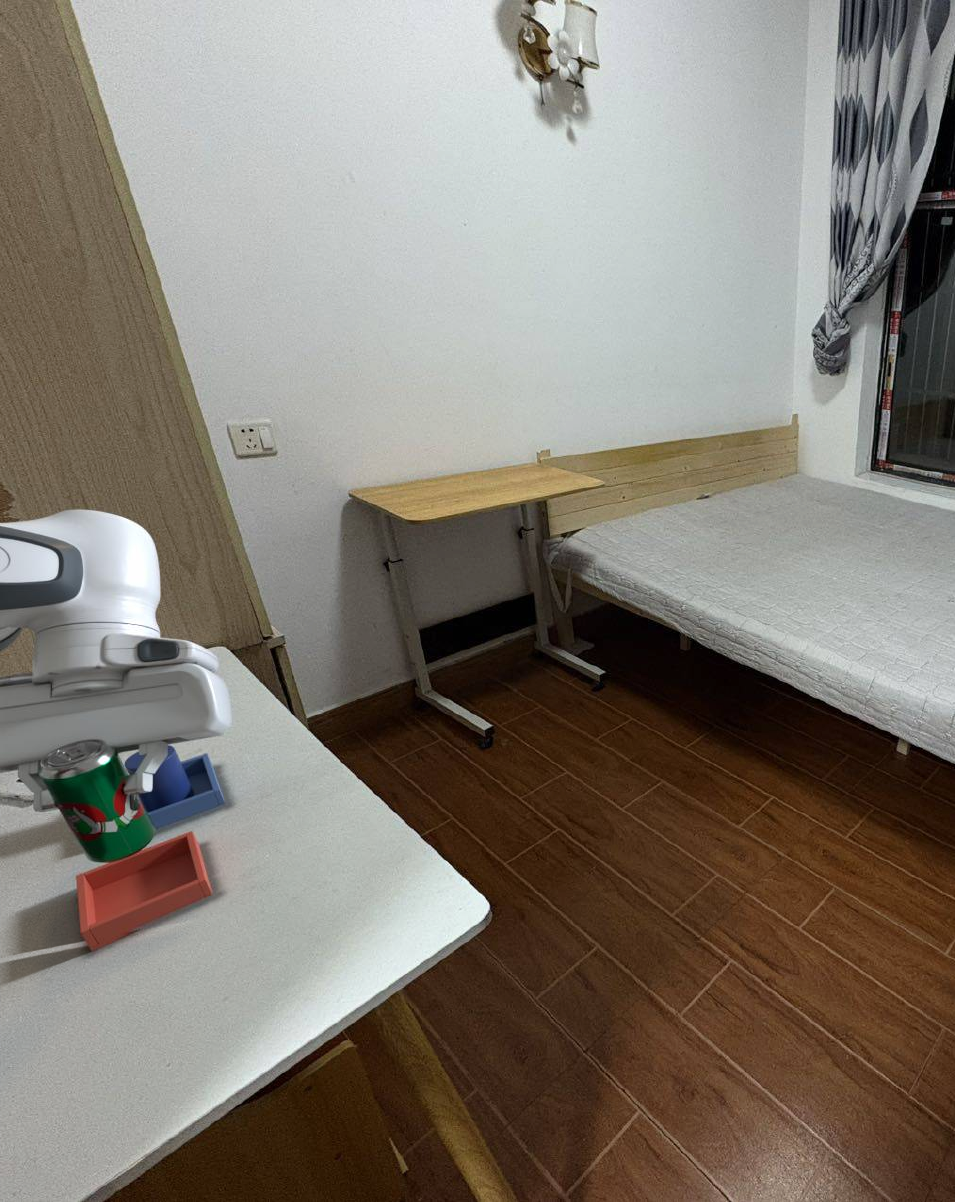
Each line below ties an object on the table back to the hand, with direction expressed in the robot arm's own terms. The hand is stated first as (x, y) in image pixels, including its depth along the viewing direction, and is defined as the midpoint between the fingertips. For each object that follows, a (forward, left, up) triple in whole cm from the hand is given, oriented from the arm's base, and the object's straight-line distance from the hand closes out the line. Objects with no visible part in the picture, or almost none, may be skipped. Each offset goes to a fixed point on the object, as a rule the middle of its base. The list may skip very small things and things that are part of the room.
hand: (95, 801), depth 63 cm
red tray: (0, +1, -14) cm, 14 cm away
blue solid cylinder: (-4, +16, -13) cm, 21 cm away
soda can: (0, +1, -7) cm, 7 cm away
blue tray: (-4, +16, -14) cm, 21 cm away
